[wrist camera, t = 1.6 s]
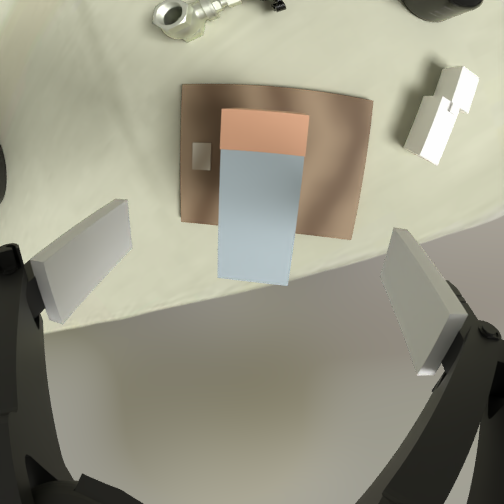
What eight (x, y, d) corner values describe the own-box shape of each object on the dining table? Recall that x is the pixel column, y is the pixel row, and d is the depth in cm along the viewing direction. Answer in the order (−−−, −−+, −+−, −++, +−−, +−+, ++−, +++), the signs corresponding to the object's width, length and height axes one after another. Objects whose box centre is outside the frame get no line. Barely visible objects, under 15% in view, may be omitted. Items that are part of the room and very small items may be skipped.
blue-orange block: (232, 238, 27) (216, 278, 21) (239, 107, 22) (221, 108, 16) (289, 244, 26) (288, 286, 21) (303, 113, 21) (309, 115, 15)
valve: (184, 58, 28) (286, 17, 25) (161, 50, 22) (286, -2, 19) (164, 15, 25) (262, -27, 22) (139, 0, 20) (256, -52, 16)
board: (184, 218, 37) (155, 252, 29) (185, 85, 29) (151, 80, 21) (349, 235, 35) (365, 276, 27) (370, 100, 28) (399, 100, 20)
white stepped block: (405, 179, 32) (423, 194, 27) (360, 92, 28) (374, 89, 23) (493, 132, 27) (519, 139, 22) (457, 48, 23) (482, 43, 18)
